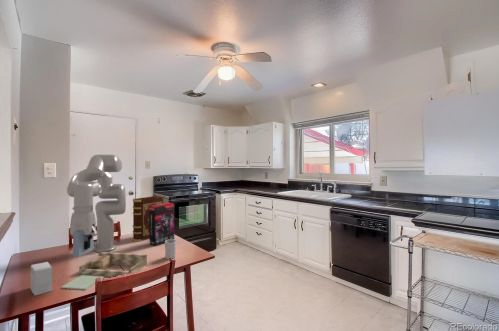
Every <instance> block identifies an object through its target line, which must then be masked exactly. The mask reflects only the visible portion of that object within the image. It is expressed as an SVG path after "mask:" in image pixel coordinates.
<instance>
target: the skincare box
mask: <svg viewBox="0 0 499 331" xmlns="http://www.w3.org/2000/svg"><path fill="white" fill-rule="evenodd" d="M29 287H30V290H31V293H32V294H34V295H33V296H40V295H42V294H46V293H50V292H52V291H53V267H52V265H51V264H50V263H49V262H48V261H45V262H40V263H34V264H31V265H30V286H29Z"/></svg>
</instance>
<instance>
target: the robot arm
mask: <svg viewBox="0 0 499 331" xmlns="http://www.w3.org/2000/svg"><path fill="white" fill-rule="evenodd" d="M122 168H123V162H122V160H121V159H120V158H119V156H118V155H116V154H95V155H93V156H92V157H91V158H90V160H89V161H88V164H87V166H86V169H83V170H80V171H79V172H77V173H75V174H73V175H72V177H71V178H70V180H69V182H68V185H67V187H66V193H67V194H68V197H71V198H73V207H72V208H71V209H72V210H73V212H72V213H71V216H70V223H69V234H70V235H71V236H72V237H73V232H75V231H82V235H85V241H84V249H85V250H86V249H88V248H90V240H91V239H92V238H93V239H94V237H96V241H93V250H94V252H96V253H99V252H107V253H108V252H111V251H113V250H115V249H116V248H117V244H115V243H114V241H115V240H114V238H115V237H114V234H115V229H114V228H115V222H114V220H113V219H114V218H112V217H111V216H117V215H120V216H121V215H123V214H124V213H125V212H126V207H127V205H126V204H127V203H126V187H125V185H124V184H122V183H114V182H113V176H112V173H119V172H120V171H121V170H122ZM94 197H98V198H99V199H101V200H100V201H98V202H96V204H95V207H94ZM113 199H114V200H113ZM94 208H95V209H94ZM94 210H95V211H94ZM91 233H92V234H91ZM88 236H89V237H88Z"/></svg>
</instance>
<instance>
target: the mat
mask: <svg viewBox="0 0 499 331" xmlns="http://www.w3.org/2000/svg"><path fill="white" fill-rule="evenodd" d="M98 277H101V278H103V279H105V276H98V275H83V274H80V276H78V277H76V278H74V279H73V280H71V281H69V282H68V283H65V284H63V285H62V286H61V289H65V288H66V289H68V290H81V291H83V290H84V291H86V290H88V289H90V288H91V287H93V286H94V285H95V279H96V278H98Z"/></svg>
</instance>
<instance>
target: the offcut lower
mask: <svg viewBox="0 0 499 331" xmlns="http://www.w3.org/2000/svg"><path fill="white" fill-rule="evenodd" d="M112 266H113V264H112V261H109V262H108V263H107V264H106V265H105V266H103V267H91V266H89V267H88V269H99V270H109V268H111V267H112Z"/></svg>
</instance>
